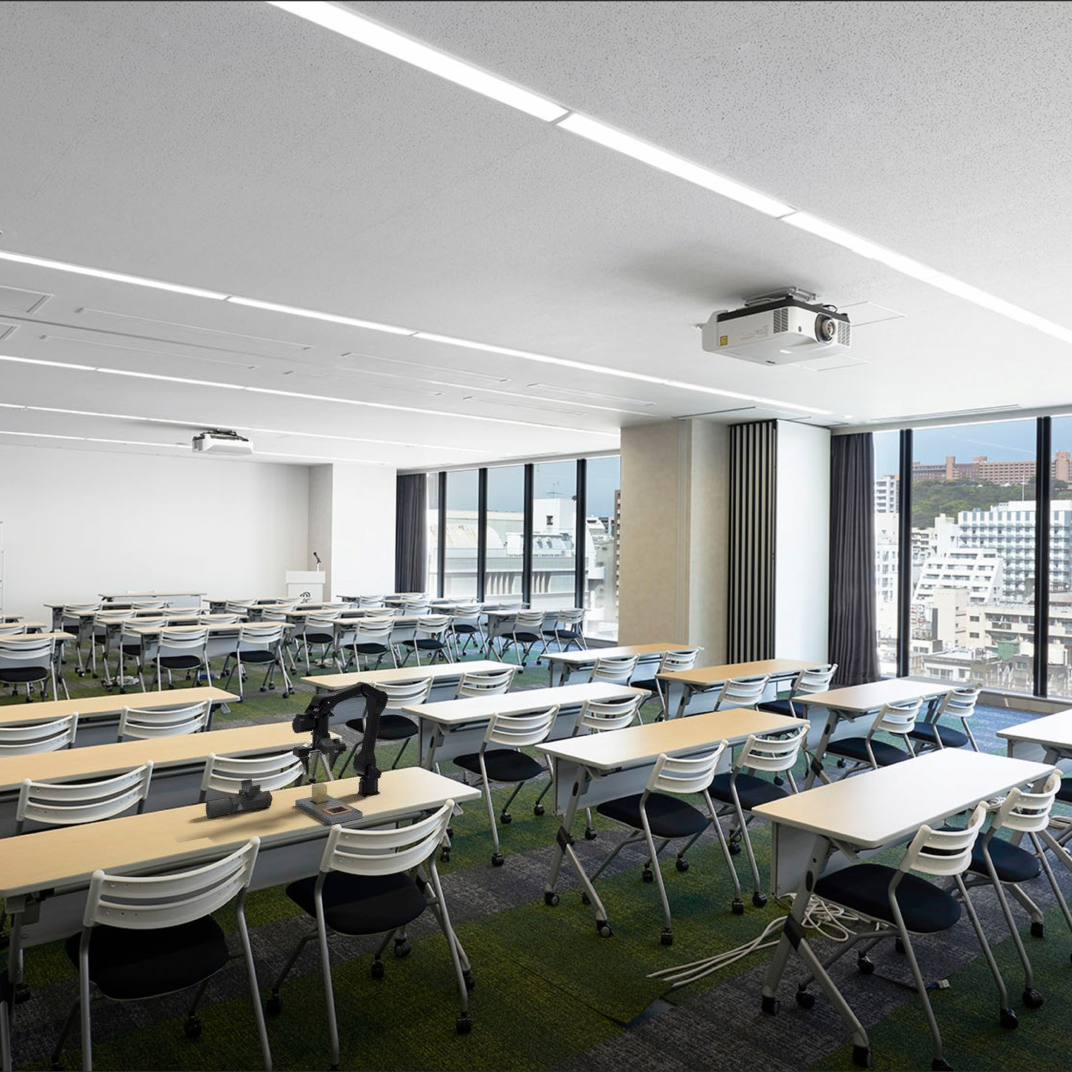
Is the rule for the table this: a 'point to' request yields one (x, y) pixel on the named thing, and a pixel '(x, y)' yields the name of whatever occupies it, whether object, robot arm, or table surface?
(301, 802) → the socket plate
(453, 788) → the table surface
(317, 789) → the brass peg
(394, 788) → the table surface
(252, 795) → the laser sight
